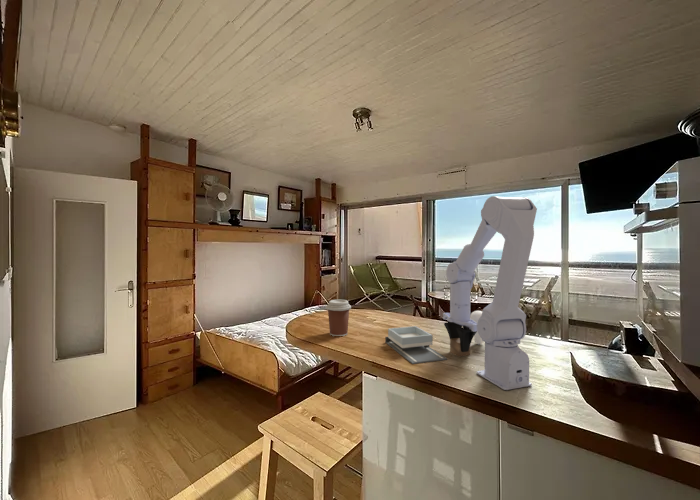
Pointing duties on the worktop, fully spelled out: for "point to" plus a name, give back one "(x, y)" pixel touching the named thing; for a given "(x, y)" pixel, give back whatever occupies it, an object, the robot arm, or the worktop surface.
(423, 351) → the track
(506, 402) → the worktop surface
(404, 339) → the white shallow tray
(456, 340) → the block
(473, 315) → the lightbulb
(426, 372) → the worktop surface
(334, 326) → the coffee cup
